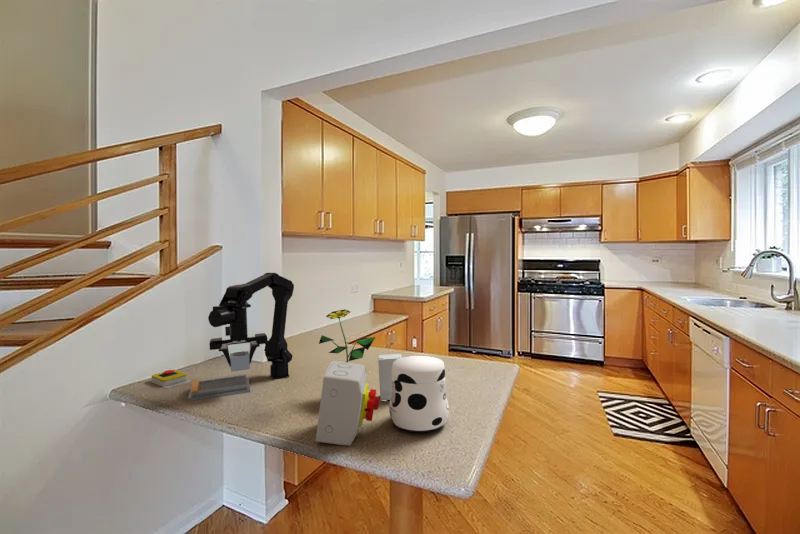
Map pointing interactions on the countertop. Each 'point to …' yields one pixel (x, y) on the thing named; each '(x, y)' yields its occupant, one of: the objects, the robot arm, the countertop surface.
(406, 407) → the cow print canister
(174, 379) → the emergency button
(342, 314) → the potted plant
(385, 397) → the skincare box
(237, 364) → the block
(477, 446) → the countertop surface
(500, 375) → the countertop surface
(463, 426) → the countertop surface
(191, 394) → the rail plate
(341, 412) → the electrical switch box
